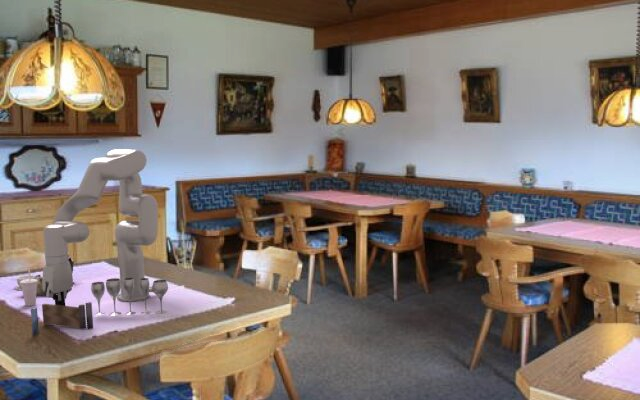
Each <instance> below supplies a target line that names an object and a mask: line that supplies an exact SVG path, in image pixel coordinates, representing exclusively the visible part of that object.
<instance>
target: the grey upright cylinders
mask: <svg viewBox="0 0 640 400" xmlns="http://www.w3.org/2000/svg"><path fill="white" fill-rule="evenodd" d="M84 305H85V317H86V330H93V329H94V321H93V319H94V318H93V317H94V316H93V304H92V302H85V304H84ZM30 318H31V319H30V321H31V330H32V331H31V332H32V336H38V335H40V331H39V319H38V308H37V307H31V308H30Z"/></svg>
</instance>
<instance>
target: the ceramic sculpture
mask: <svg viewBox="0 0 640 400" xmlns="http://www.w3.org/2000/svg"><path fill="white" fill-rule="evenodd" d="M34 276H35V277H34V278H33V279H37V280H38V283H37V291H36V295H42V296H43V295H46V293H44V292H43V276H41V274H37V275H34ZM22 280H23V279H21V281H22Z"/></svg>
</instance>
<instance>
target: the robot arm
mask: <svg viewBox="0 0 640 400" xmlns="http://www.w3.org/2000/svg"><path fill="white" fill-rule="evenodd" d="M147 162H148V161H147V156H146V154H145V153H144V152H143V151H142V150H140V149H123V148H122V149H119V148H118V149H112V150H110V151H108V152H107V153H106V156H105V157H96V158H94V159H92V160H91V161H90V162H89V163H88V166H87V168H86V171H85V172H84V175H83V177H82V180H81V181H80V184H79V186H78V189H77V190H76V192H75V193H74V194H73V195H72V196H70V197H69V198H68V199H67V200H66V201H65V202H64V203H63V204H62V205H61V206H60V207H59V209H58V210H57V212H56V214H55V216H54V219H53V221H52V222H51V224H48V225H45V226H44V227H43V230H42V234H43V235H42V236H43V247H44V260H45V261H44V262H45V265H43V268H42V277H43V292H44V293H46V294H45V295H46V296H45V297H46V298H49V299H51V298H52V300H53V301H54V305H63V306H66V299H67V295H68V293H69V292H71V291H72V289H73V286H74V284H73V282H74V279H73V273H72V270H71V265H70V262H69V261H68V257H69V256H70V254H69V251H68V250H69V249H68V246H69V245H68V244H77V243H83V242H84V241H85V240H87V239H88V238H89V236H90V233H91V232H90V227H89V226H88V224H86V223H84V222H83V221H75V220H74V219H75V217H76V216H77V215H78V214H79V213H80V212H82V211H83V210H85V209H88V208H89V207H91V206H94V205H96V204H97V203H98V202H100V200H101V197H102V196H103V193H104V190H105V188H106V186H107V184H108V182H109V181H113V182H114V181H115V182H118V181H119V194H118V195H119V198H118V202H119V203H118V205H119V206H118V207H119V213H120V214H122V216H125V217H129V218H138V220H133V219H125V220H121V221H119V222H118V223H117V225H116V226H115V228H114V237H115V242H116V245H117V252H118V264H119V268H118V269H119V279H120V282H121V289H120V292H119V294H118V295H117V297H116V300H118V301H121V302H129V298H128V296H127V294H126V292H125V289H124V279H125V278H133V280H134V291H133V293H132V296H131V302H137V301H142V300H144V296H143V294H142V292H141V290H140V279H142V278H146V276H145V262H144V261H145V260H144V259H145V258H144V250H143V248H142V246H146V247H147V246H151V245H153V244H154V243H155V241H157V238H158V230H159V227H158V226H159V225H158V223H159V205H158V202H157V200H156V198H155V197H154V195H152V194H150V193H149V194H148V193H143V187H142V186H143V185H142V177H141V175H140V172H142V171H143V170H144V169H145V168H146V166H147ZM150 293H154V292H153V290H152V286H149V291H148V294H147V297H146V299H148V298H149V297H150Z"/></svg>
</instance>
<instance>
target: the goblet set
mask: <svg viewBox="0 0 640 400" xmlns="http://www.w3.org/2000/svg"><path fill="white" fill-rule="evenodd" d="M149 287H150V280H149V278H148V277H147V278H146V277H145V278H142V279H140V290H141V292H142V294H143V296H144V299H143V300H144V310H145V311H142V312H140V315H143V316H144V315H151V314H152V311H149V310H147V298H146V297H147V294H148V291H149ZM151 287H152V290H153V292H152V293H153V294H155V296H157V297H158V298H159V303H160V310H158V311H156V312H154V314H155V315H165V314H168V311H167V310H163V309H162V300H163V298H164V296H165V295H166V294H167V292H168V290H169V285H168V282H167V280H166V279H156V280H154V281H153V282H152V286H151ZM90 289H91V294H92V296H93V297H94V298H95V299H96V301H97V305H98V312H96V314H95V313H94V314H95V315H102V314H105V313H106V312H104V313H102V312H101V299H102V298H103V296H104V294H105V291H106V292H107V294H108V295H109V296H110V297H111V299H112V301H113V310H114V311H113V312H110V314H109V313H108V316H110V315H111V316H110V317H116V315H117V316H121V315H122V314H123V313H122V312H121V311H116V300H117V295H118V294H120V293H121V282H120V278H117V277H114V278H113V277H111V278H107V279H106V282H103V281H94V282H92V283H91V287H90ZM124 289H125V292H126V294H127V296H128V298H129V301H128V302H129V311H128V312H126V313H124V314H125V316H133V315H136V314H137V312H136V311H132V310H131V309H132V308H131V307H132V305H131V303H132V301H131V296H132V293H133V291H134V280H133V278H125V279H124ZM100 312H101V313H100ZM105 315H106V314H105Z"/></svg>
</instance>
